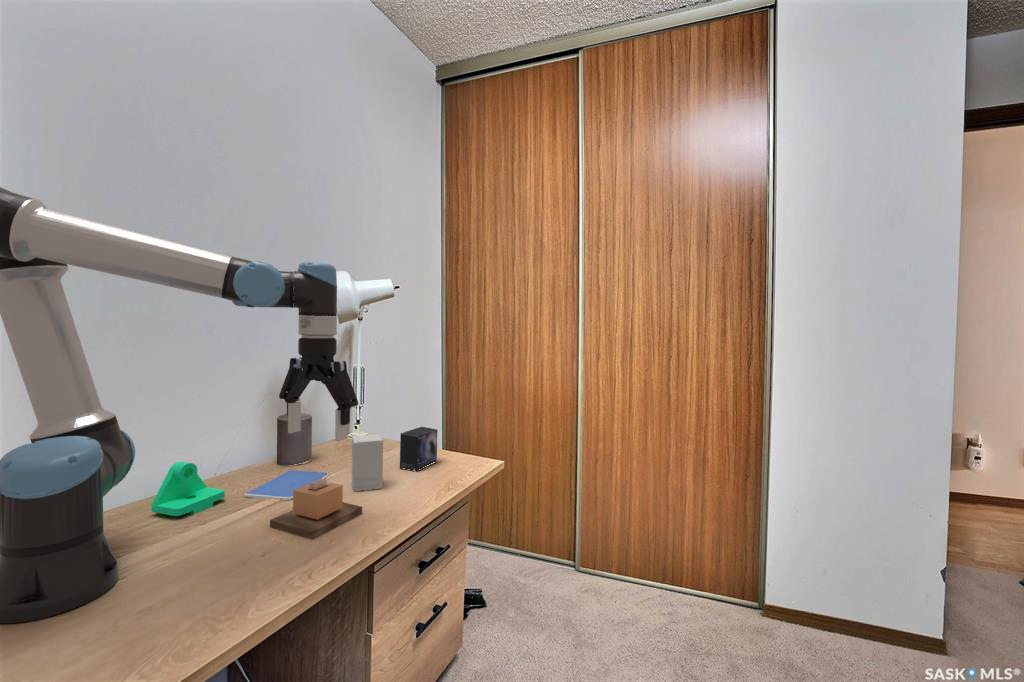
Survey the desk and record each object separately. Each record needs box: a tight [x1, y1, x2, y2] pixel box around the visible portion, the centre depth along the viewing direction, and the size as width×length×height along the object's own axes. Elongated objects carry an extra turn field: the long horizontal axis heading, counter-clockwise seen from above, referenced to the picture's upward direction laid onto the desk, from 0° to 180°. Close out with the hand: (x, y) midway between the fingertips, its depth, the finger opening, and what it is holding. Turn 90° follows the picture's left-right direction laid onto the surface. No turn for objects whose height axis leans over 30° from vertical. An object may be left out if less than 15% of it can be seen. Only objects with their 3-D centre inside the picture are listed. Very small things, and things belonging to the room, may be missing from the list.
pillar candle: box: [276, 412, 313, 466], centre depth 143 cm, size 10×10×15 cm
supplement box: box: [351, 433, 384, 492], centre depth 124 cm, size 7×7×13 cm
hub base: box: [269, 478, 363, 540], centre depth 103 cm, size 14×12×8 cm
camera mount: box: [150, 461, 226, 517], centre depth 108 cm, size 12×8×10 cm, turn 163°
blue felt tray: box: [244, 469, 330, 501], centre depth 123 cm, size 19×13×1 cm, turn 172°
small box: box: [399, 426, 438, 472], centre depth 141 cm, size 11×6×10 cm, turn 154°
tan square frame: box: [292, 481, 344, 520], centre depth 103 cm, size 7×7×5 cm
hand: (317, 436), depth 102 cm, fingers open, 13 cm apart
